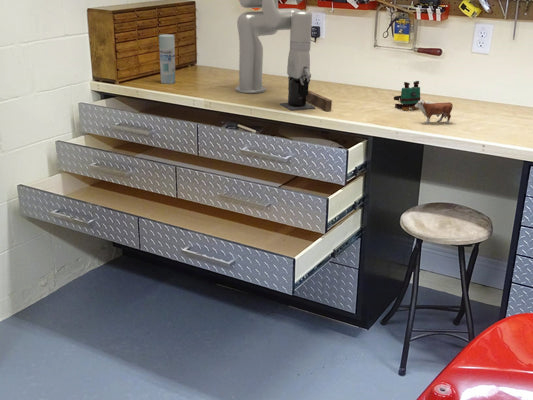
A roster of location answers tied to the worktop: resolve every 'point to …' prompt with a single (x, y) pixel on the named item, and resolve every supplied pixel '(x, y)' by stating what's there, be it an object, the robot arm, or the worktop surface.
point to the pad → (297, 107)
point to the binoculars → (409, 96)
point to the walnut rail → (319, 101)
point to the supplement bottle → (295, 93)
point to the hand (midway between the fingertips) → (298, 92)
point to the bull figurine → (435, 109)
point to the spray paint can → (167, 58)
